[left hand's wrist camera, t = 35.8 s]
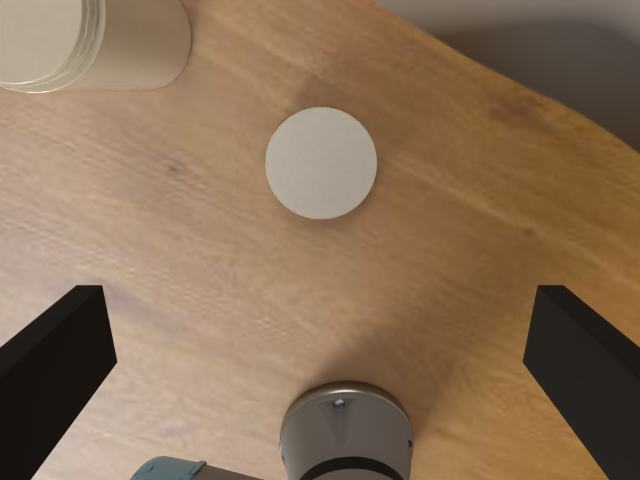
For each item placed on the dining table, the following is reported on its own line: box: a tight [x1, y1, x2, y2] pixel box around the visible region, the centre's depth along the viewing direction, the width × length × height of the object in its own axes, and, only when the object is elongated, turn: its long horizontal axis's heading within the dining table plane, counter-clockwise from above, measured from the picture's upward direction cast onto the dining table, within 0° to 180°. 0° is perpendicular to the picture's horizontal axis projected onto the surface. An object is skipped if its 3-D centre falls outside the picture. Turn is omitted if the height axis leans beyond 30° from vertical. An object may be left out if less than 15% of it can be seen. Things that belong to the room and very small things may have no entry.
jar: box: [0, 0, 191, 93], centre depth 27 cm, size 9×9×16 cm
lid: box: [265, 106, 377, 219], centre depth 38 cm, size 10×10×2 cm
